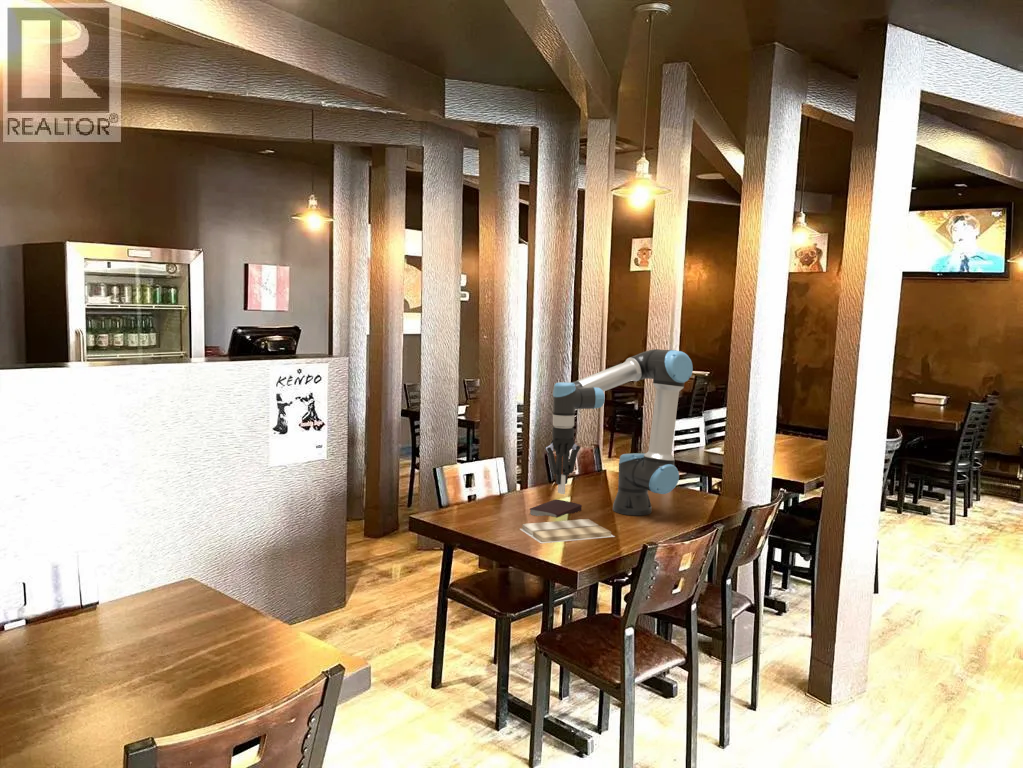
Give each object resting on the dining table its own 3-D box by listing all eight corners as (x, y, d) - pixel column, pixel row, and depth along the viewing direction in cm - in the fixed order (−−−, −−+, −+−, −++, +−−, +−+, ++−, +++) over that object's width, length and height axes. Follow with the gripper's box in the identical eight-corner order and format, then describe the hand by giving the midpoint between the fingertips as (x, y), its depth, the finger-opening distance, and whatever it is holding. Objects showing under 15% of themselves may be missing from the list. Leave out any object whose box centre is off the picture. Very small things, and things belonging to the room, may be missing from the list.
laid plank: (600, 530, 265) (600, 526, 265) (611, 536, 258) (611, 531, 258) (533, 536, 255) (533, 531, 255) (542, 542, 248) (542, 537, 248)
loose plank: (587, 522, 274) (588, 518, 274) (598, 529, 266) (598, 525, 266) (522, 528, 264) (522, 524, 264) (531, 535, 257) (531, 530, 256)
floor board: (589, 525, 274) (590, 523, 274) (614, 539, 258) (615, 536, 258) (519, 531, 264) (519, 528, 264) (540, 546, 247) (540, 543, 247)
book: (581, 511, 297) (582, 503, 297) (556, 521, 281) (556, 512, 281) (554, 506, 304) (554, 498, 304) (528, 516, 288) (528, 507, 288)
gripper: (575, 424, 269) (573, 489, 271) (541, 425, 264) (540, 492, 266) (584, 427, 262) (582, 494, 264) (551, 428, 257) (549, 496, 259)
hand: (561, 493), depth 265 cm, fingers closed
